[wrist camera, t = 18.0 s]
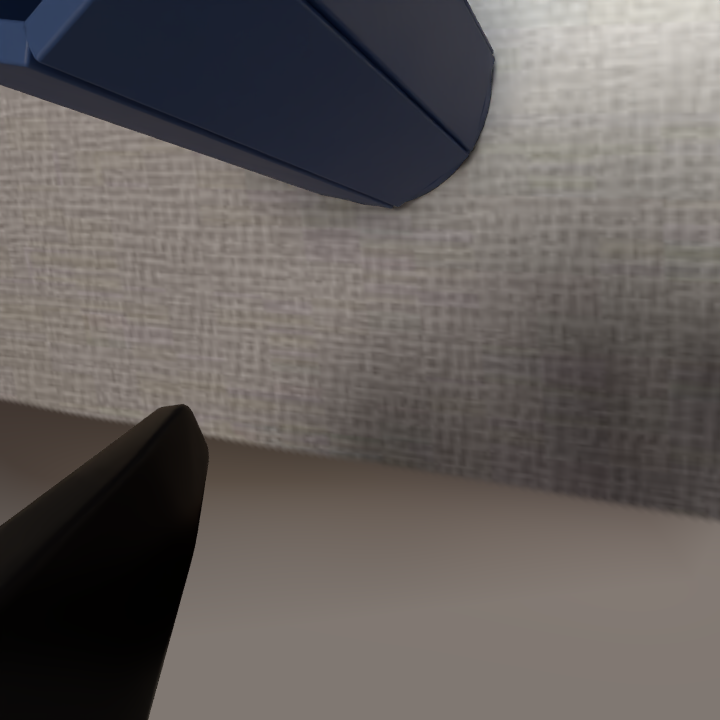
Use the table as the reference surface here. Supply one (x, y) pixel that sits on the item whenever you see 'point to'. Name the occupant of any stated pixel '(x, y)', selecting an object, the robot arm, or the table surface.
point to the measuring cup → (270, 82)
